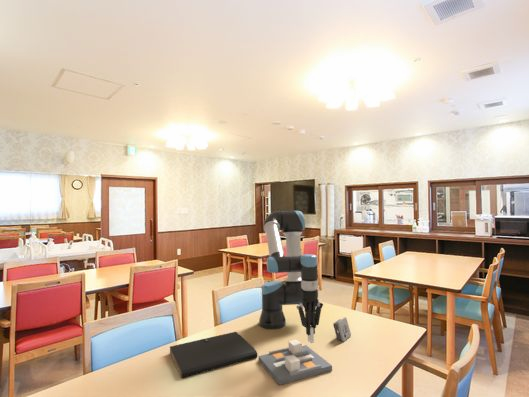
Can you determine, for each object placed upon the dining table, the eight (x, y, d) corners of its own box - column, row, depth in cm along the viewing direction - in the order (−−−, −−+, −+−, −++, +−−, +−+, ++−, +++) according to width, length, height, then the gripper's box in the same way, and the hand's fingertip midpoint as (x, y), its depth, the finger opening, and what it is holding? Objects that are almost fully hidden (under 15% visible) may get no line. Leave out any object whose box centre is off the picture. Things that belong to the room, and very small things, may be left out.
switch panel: (258, 360, 131) (258, 353, 132) (306, 349, 141) (306, 343, 141) (278, 385, 113) (278, 377, 113) (332, 370, 123) (331, 362, 123)
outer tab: (285, 367, 122) (284, 356, 122) (293, 364, 123) (293, 354, 123) (291, 373, 117) (290, 362, 117) (300, 370, 119) (299, 360, 119)
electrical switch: (343, 342, 148) (341, 322, 149) (334, 340, 151) (332, 321, 152) (351, 336, 155) (349, 317, 156) (342, 334, 158) (340, 316, 159)
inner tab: (288, 350, 136) (288, 341, 136) (296, 348, 137) (296, 339, 137) (294, 355, 131) (293, 345, 131) (302, 353, 133) (301, 344, 133)
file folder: (235, 330, 155) (257, 350, 134) (235, 338, 155) (257, 359, 134) (169, 345, 140) (181, 370, 118) (169, 354, 139) (182, 381, 118)
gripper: (301, 292, 132) (302, 347, 131) (326, 289, 137) (327, 342, 136) (293, 288, 139) (294, 341, 138) (317, 285, 144) (318, 336, 143)
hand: (310, 341), depth 137 cm, fingers closed
